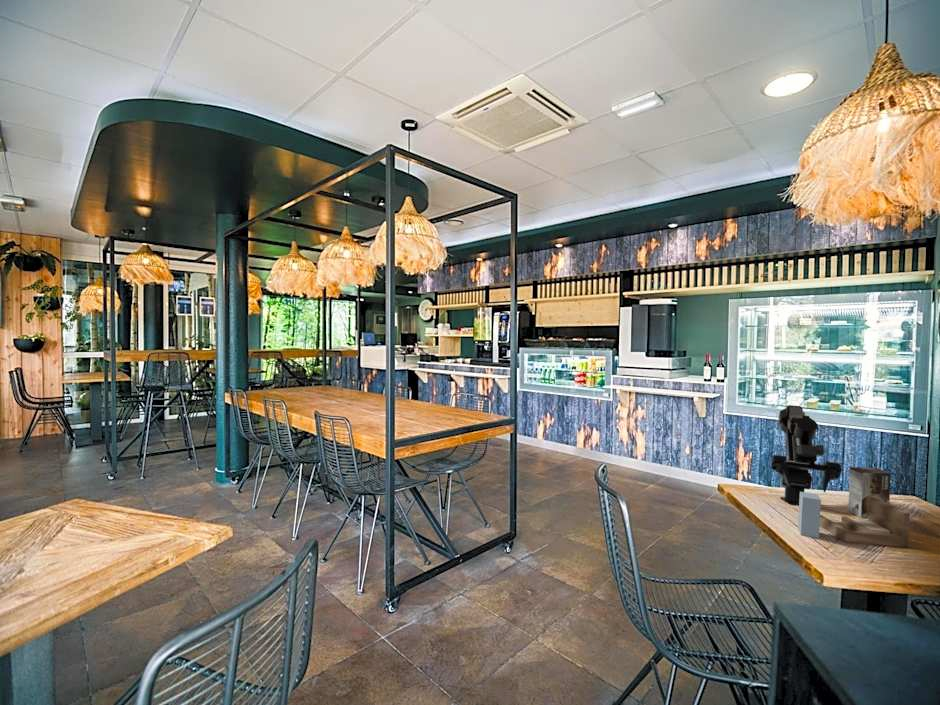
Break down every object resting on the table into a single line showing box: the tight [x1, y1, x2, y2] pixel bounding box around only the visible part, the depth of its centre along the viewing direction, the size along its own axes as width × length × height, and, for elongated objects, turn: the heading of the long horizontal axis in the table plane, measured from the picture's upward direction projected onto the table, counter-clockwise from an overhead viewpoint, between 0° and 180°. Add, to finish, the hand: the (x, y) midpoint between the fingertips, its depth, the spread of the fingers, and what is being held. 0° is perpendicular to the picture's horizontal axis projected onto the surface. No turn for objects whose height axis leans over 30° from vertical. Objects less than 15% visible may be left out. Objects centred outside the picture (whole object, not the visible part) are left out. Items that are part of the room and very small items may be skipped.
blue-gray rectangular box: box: [797, 491, 822, 539], centre depth 140 cm, size 6×4×12 cm
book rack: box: [820, 497, 911, 548], centre depth 140 cm, size 14×17×10 cm
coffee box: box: [847, 466, 891, 519], centre depth 157 cm, size 9×6×16 cm
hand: (806, 488), depth 145 cm, fingers open, 9 cm apart
